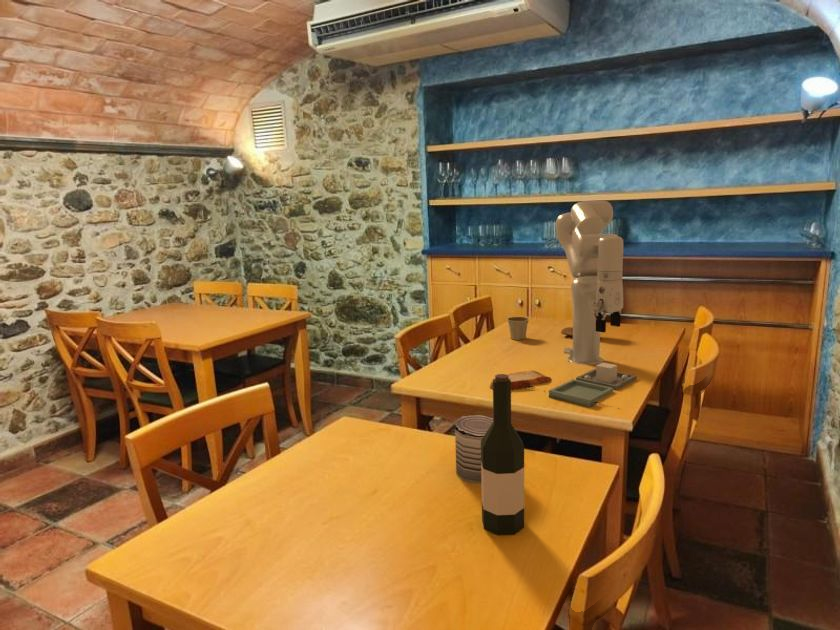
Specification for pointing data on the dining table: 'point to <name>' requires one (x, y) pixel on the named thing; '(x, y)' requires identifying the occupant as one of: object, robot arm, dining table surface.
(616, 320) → the robot arm
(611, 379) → the beige block
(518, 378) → the bread slice
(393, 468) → the dining table surface
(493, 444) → the wine bottle
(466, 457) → the can
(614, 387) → the bin
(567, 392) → the bin
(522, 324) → the flower pot
